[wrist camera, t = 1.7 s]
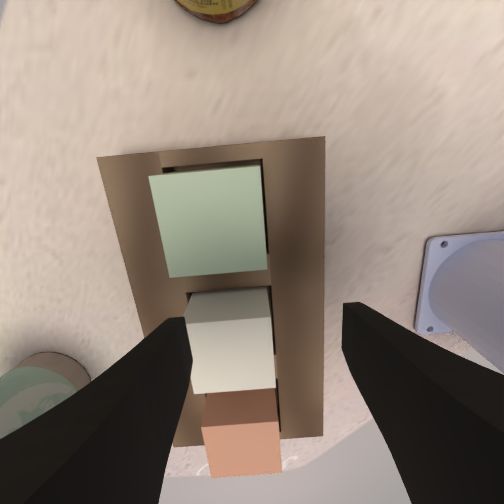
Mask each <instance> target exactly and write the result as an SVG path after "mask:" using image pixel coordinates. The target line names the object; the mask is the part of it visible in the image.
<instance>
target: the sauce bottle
mask: <svg viewBox="0 0 504 504" xmlns="http://www.w3.org/2000/svg"><path fill="white" fill-rule="evenodd" d="M175 1H176V2H177V3H178V4H179V5H180V6H181V7H182V8H184V9H186V10H187V11H189V12H190V13H191V14H194V15H196V16H197V17H199V18H202V19H206V20H208V21H214V22H216V23H225V22H227V21H229V20H231V19H234V18H237V17H239V16H240V15H241V14H242V13H243V12H245V11H246V10H248V9H249V8H250V7H251V6H252V4H253V3H255V2H256V1H257V0H175Z"/></svg>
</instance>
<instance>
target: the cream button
mask: <svg viewBox="0 0 504 504" xmlns="http://www.w3.org/2000/svg"><path fill="white" fill-rule="evenodd" d="M183 316H184V317H185V322H186V327H187V332H188V337H189V342H190V347H191V352H192V357H193V364H192V371H191V382H192V387H193V392H194V394H203V393H215V392H228V391H241V390H253V389H266V388H276V381H275V367H274V354H273V340H272V326H271V315H270V308H269V301H268V294H267V287H266V286H258V287H246V288H234V289H222V290H210V291H198V292H193V293H192V296H191V298H190V300H189V303H188V305H187V308H186V310H185V312H184V315H183Z"/></svg>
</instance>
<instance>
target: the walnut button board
mask: <svg viewBox="0 0 504 504" xmlns="http://www.w3.org/2000/svg"><path fill="white" fill-rule="evenodd" d="M96 158H97V162H98V166H99V169H100V173H101V177H102V181H103V184H104V188H105V192H106V196H107V199H108V203H109V207H110V211H111V214H112V218H113V222H114V226H115V229H116V233H117V237H118V241H119V244H120V248H121V252H122V255H123V259H124V263H125V267H126V270H127V274H128V278H129V282H130V285H131V289H132V293H133V297H134V300H135V304H136V308H137V312H138V315H139V319H140V323H141V327H142V330H143V334H144V338H145V337H147V336H148V335H149V334H150V333H151V332H152V331H153V330H154V329H156V328H157V327H158V326H159V325H160V324H161V323H162V322H164V321H165V320H166V319H167V318H171V317H183V315H184V312H185V310H186V308H187V305H188V303H189V300H190V298H191V296H192V293H193V292H198V291H210V290H222V289H234V288H246V287H258V286H266V287H267V294H268V301H269V308H270V315H271V326H272V340H273V354H274V367H275V381H276V388H275V397H276V405H277V414H278V423H279V437H280V439H291V438H304V437H317V436H323V381H324V229H325V136H322V137H312V138H301V139H290V140H279V141H268V142H257V143H246V144H236V145H225V146H214V147H203V148H192V149H181V150H170V151H160V152H149V153H138V154H127V155H116V156H105V157H96ZM246 165H259V166H260V173H261V187H262V201H263V215H264V229H265V242H266V256H267V270H256V271H244V272H232V273H221V274H209V275H197V276H185V277H174V278H170V277H169V272H168V268H167V263H166V258H165V253H164V249H163V244H162V239H161V234H160V230H159V225H158V220H157V215H156V210H155V206H154V201H153V196H152V191H151V187H150V182H149V177H148V176H153V175H159V174H165V173H171V172H180V171H191V170H202V169H213V168H224V167H235V166H246ZM206 396H207V393H203V394H194V392H193V387H192V382H191V377H190V383H189V388H188V391H187V395H186V398H185V402H184V405H183V409H182V412H181V416H180V419H179V422H178V426H177V429H176V432H175V436H174V439H173V446H174V447H185V446H199V445H205V444H204V439H203V435H202V430H201V424H202V419H203V413H204V407H205V401H206Z"/></svg>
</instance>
